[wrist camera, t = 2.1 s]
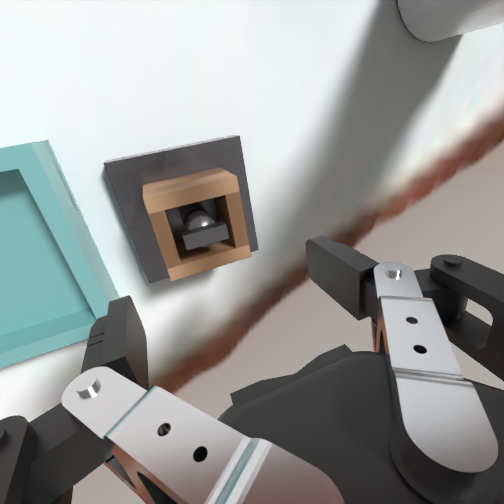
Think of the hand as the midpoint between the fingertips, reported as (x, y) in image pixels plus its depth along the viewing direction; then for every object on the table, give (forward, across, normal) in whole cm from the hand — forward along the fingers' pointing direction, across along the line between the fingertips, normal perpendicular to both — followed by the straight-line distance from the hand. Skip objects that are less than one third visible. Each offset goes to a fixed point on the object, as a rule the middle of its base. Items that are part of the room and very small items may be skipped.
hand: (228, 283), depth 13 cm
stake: (+14, 0, 0) cm, 14 cm away
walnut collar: (+12, 0, 0) cm, 12 cm away
